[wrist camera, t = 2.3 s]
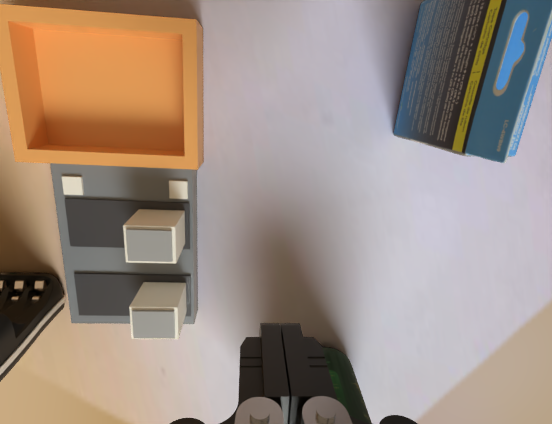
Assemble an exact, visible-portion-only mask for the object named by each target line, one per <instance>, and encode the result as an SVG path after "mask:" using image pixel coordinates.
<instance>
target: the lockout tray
mask: <svg viewBox="0 0 552 424" xmlns="http://www.w3.org/2000/svg"><path fill="white" fill-rule="evenodd" d="M0 71H1V77H2V83H3V89H4V95H5V101H6V107H7V114H8V120H9V126H10V132H11V138H12V144H13V150H14V156H15V162H33V163H56V164H79V165H102V166H125V167H148V168H171V169H193V170H198V169H199V167H200V166H201V164H202V163H203V162H204V161H203V28H202V27H201V25H200V24H199V22H198V21H197V20H196V19H184V18H172V17H159V16H146V15H134V14H121V13H108V12H96V11H83V10H70V9H58V8H45V7H32V6H20V5H7V4H0Z"/></svg>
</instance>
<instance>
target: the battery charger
mask: <svg viewBox="0 0 552 424" xmlns="http://www.w3.org/2000/svg"><path fill="white" fill-rule="evenodd" d="M64 302H65V296H64V295H63V292H62V288H61V285H60V283H59V281H58V280H57V279H56V278H55V277H54V276H53V275H51V274H47V273H0V381H1V380H2V379H3V378H4V377H5V376H6V375H7V373H8V372H9V371H10V370H11V369H12V368H13V367H14V366H15V364H16V363H17V362H18V361H19V360H20V358H21V357H22V356H23V355H24V354H25V352H26V351H27V350H28V349H29V347H30V346H31V345H32V344H33V342H34V341H35V340H36V339H37V337H38V336H39V335H40V333H41V332H42V331H43V330H44V329H45V328H46V326H47V325H48V324H49V323H50V322H51V321H52V320H53V319H54V318H55V316H56V315H57V314H58V313H59V312H60V311H61V310H62V309H63V308H64Z"/></svg>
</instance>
